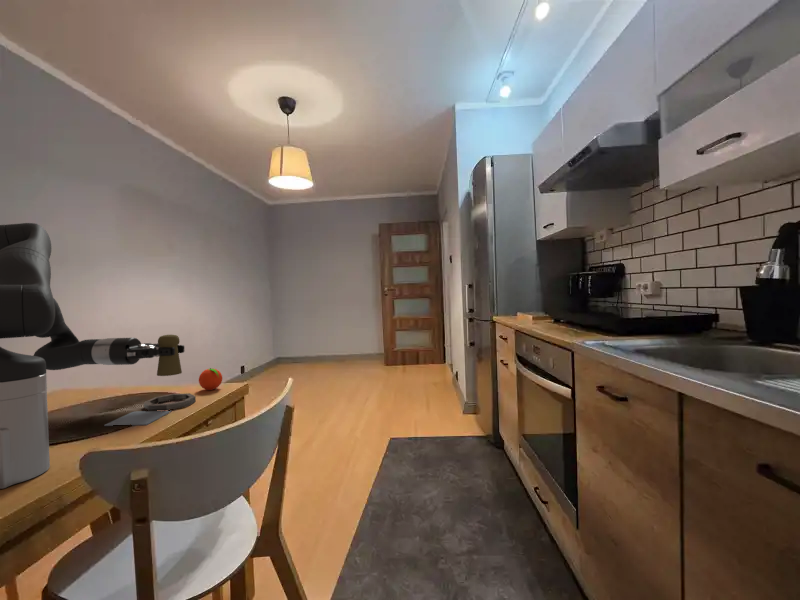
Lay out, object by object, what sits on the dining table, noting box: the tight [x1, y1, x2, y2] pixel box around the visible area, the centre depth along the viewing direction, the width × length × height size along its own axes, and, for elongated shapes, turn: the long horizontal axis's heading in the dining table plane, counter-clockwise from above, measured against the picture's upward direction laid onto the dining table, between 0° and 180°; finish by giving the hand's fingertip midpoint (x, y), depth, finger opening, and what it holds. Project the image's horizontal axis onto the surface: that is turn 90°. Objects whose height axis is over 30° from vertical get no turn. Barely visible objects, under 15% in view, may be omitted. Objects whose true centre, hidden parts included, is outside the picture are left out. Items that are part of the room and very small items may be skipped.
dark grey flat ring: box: [143, 392, 197, 411], centre depth 106 cm, size 12×12×2 cm
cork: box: [156, 334, 183, 377], centre depth 106 cm, size 6×6×11 cm
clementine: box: [198, 367, 223, 391], centre depth 122 cm, size 8×7×7 cm
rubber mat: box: [104, 410, 172, 427], centre depth 95 cm, size 10×10×1 cm
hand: (178, 350), depth 106 cm, fingers closed on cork, 4 cm apart
